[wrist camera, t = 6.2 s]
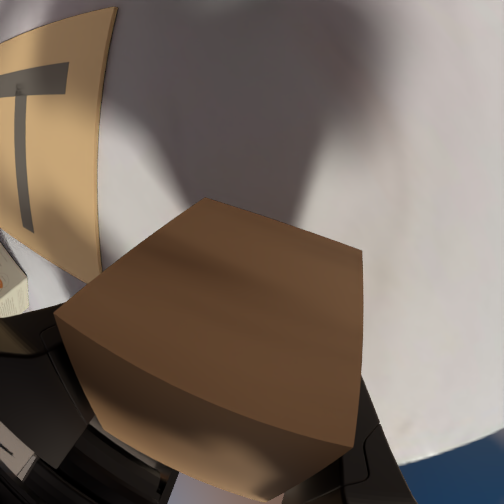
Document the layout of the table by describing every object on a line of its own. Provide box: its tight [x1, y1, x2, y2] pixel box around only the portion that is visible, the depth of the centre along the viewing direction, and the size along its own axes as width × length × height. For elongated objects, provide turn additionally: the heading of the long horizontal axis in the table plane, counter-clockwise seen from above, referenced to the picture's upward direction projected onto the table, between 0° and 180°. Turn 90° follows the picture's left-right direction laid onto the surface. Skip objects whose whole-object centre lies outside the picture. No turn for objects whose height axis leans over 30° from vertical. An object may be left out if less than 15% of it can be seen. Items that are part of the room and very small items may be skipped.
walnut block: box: [53, 198, 363, 503], centre depth 7 cm, size 5×5×6 cm
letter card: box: [0, 7, 118, 284], centre depth 16 cm, size 18×18×1 cm
